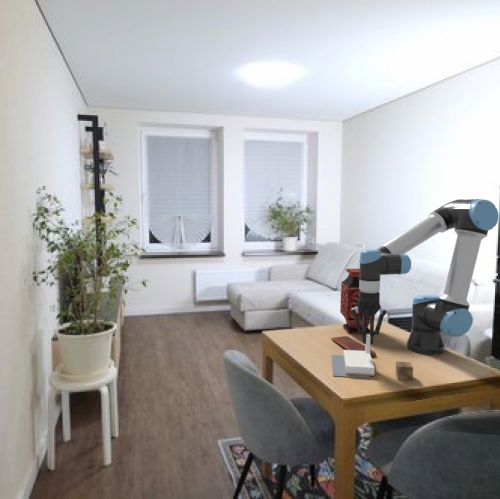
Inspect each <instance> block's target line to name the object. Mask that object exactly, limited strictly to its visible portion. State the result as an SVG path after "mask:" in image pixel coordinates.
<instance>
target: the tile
mask: <svg viewBox="0 0 500 499" xmlns="http://www.w3.org/2000/svg"><path fill="white" fill-rule="evenodd" d="M342 353H343V354H342V355H343V358H344V365H345V372H346V374H351V375H368V376H370V377H371V376H372V377H374V376H375V368H376V367H375V366H374V362H373V359H372V356H370V354H369V353H366V352H365V351H356V350H347V349H343V351H342Z"/></svg>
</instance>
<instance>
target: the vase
mask: <svg viewBox="0 0 500 499" xmlns="http://www.w3.org/2000/svg"><path fill="white" fill-rule="evenodd" d="M345 270H346V273H348V275H347V277H346V278H345V279H344V280H342V281H341V283H340V284H341V286H340V287H341V290H340V310H339V313H340V314H341V315H342V316H343V317H344V320H345V322H346V323H344V324H342V328H343V329H344V330H345V331H347V333H348V334H349V335H350V334H355V335H356V334H359V333H358V329H357V325H356V320H355V316H354V314H353V312H352V310H351V309H352V308H355V307H357V304H358V302H359V292H360V291H361V290H360V289H359V279H360V268H345ZM357 314H358V318H359V323H360V327H361V330H362V331H363V314H362V313H361V311H360V310H359V309H358V313H357ZM375 316H376V314H375V315H374V320H375V319H376V318H375ZM369 326H370V316H367V334H370V327H369ZM359 335H360V334H359Z"/></svg>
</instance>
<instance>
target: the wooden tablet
mask: <svg viewBox="0 0 500 499" xmlns="http://www.w3.org/2000/svg"><path fill="white" fill-rule="evenodd" d="M331 340H332V341H334V342H335V343H337V344H338V345H340V346H342V347H343V348H344V350H356V351H365V344H363V343H360V342H359V341H357V340H355V339H353V338H351V337H350V336H346V335H345V336H344V335H342V336H335V337H331ZM376 354H377V352H375V351H374V350H373V349H371V348H370V356H371V357H372V356H376Z"/></svg>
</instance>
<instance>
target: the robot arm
mask: <svg viewBox="0 0 500 499" xmlns="http://www.w3.org/2000/svg"><path fill="white" fill-rule="evenodd" d="M498 221H499V211H498V208H497V207H496V205H495V204H494V203H493V202H492V201H490V200H488V199H481V198H475V199H473V198H471V199H470V198H469V199H468V198H467V199H464V198H463V199H455V200H452V201H450V202H448V203H445V204H443V205H442V206H440V207H438V208H437V209H435V210H433V211H432V212H430V213H429V214H428V217H426V218H425V219H423V220H421V221H420V222H418V223H417V224H415V225H414V226H412V227H411V228H409V229H407V230H406V231H403V233H401V234H400V235H398V236H396V237H394V238H393V239H391V240H389V241H387V242H386V243H384V244H383V245H381V246H380V247H378V248H376V249H363V250H361V251H360V255H359V269H360V279H359V289H360V290H361V291H360V292H359V302H358V304H357V307H355V308H352V309H351V310H352V312H353V314H354V316H355V320H356V325H357V329H358V333H359V335H362V344H363V345H364V346H365V352H366V353H369V354H370V349H371V345H373V344H374V337H375V336H378V335H379V334H380V330H381V328H382V323H383V321H384V317H385V316H386V314H387V310H386V309H385V308H382V307H381V306H382V305H381V304H380V303H381V302H380V300H381V299H380V296H381V292H380V291H381V276H383V275H384V276H385V275H387V276H388V275H389V276H390V275H405V274H408V273H409V272H410V271H411V269H412V260H411V258H410V256H409V255H408V254H406V253H409V252H410V251H412V250H413V249H414V248H416V247H418V246H420V245H421V244H423V243H424V242H426V241H428V240H429V239H430V238H432V237H434V236H435V235H437V234H439V233H441V234H442V233H446V231H449V230H451V229H454V232H455V233H456V235H457V237H456V239H455V240H456V241H455V245H454V250H453V252H452V257H451V262H450V265H449V269H448V274H447V277H446V281H445V286H444V289H443V293H442V294H441V295H431V294H429V295H425V294H424V295H417V296H414V298H412V299H413V300H412V305H411V306H412V316H411V322H412V323H411V331H410V333H409V336H408V338H407V341H406V348H407V349H408V350H410V351H412V352H415V353H418V354H424V355H440V354H443V353H445V351H446V350H445V349H446V345H445V342H444V341H445V340H444V338H443V335H446V336H450V337H453V338H459V337H462V336H464V335H465V334H467V333H468V332H469V331H470V329H471V327H473V324H474V317H473V316H472V312H471V311H470V302H469V301H468V295H469V291H470V287H471V284H472V279H473V276H474V272H475V271H474V270H475V267H476V263H477V260H478V256H479V251H480V248H481V243H482V240H484V239H485V238H487V237H488V233H489V231H490V230H492V229H494V227H496V226H497V224H498ZM358 309H359V310H360V311H361V313H362V314H363V331H362V330H361V327H360V323H359V318H358V314H357V313H358ZM378 312H379V314H378V318H377V321H376V325H375V319H374V315H375V316H376V314H377V313H378ZM367 316H370V324H369V329H370V333H369V334H368V333H367Z"/></svg>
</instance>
